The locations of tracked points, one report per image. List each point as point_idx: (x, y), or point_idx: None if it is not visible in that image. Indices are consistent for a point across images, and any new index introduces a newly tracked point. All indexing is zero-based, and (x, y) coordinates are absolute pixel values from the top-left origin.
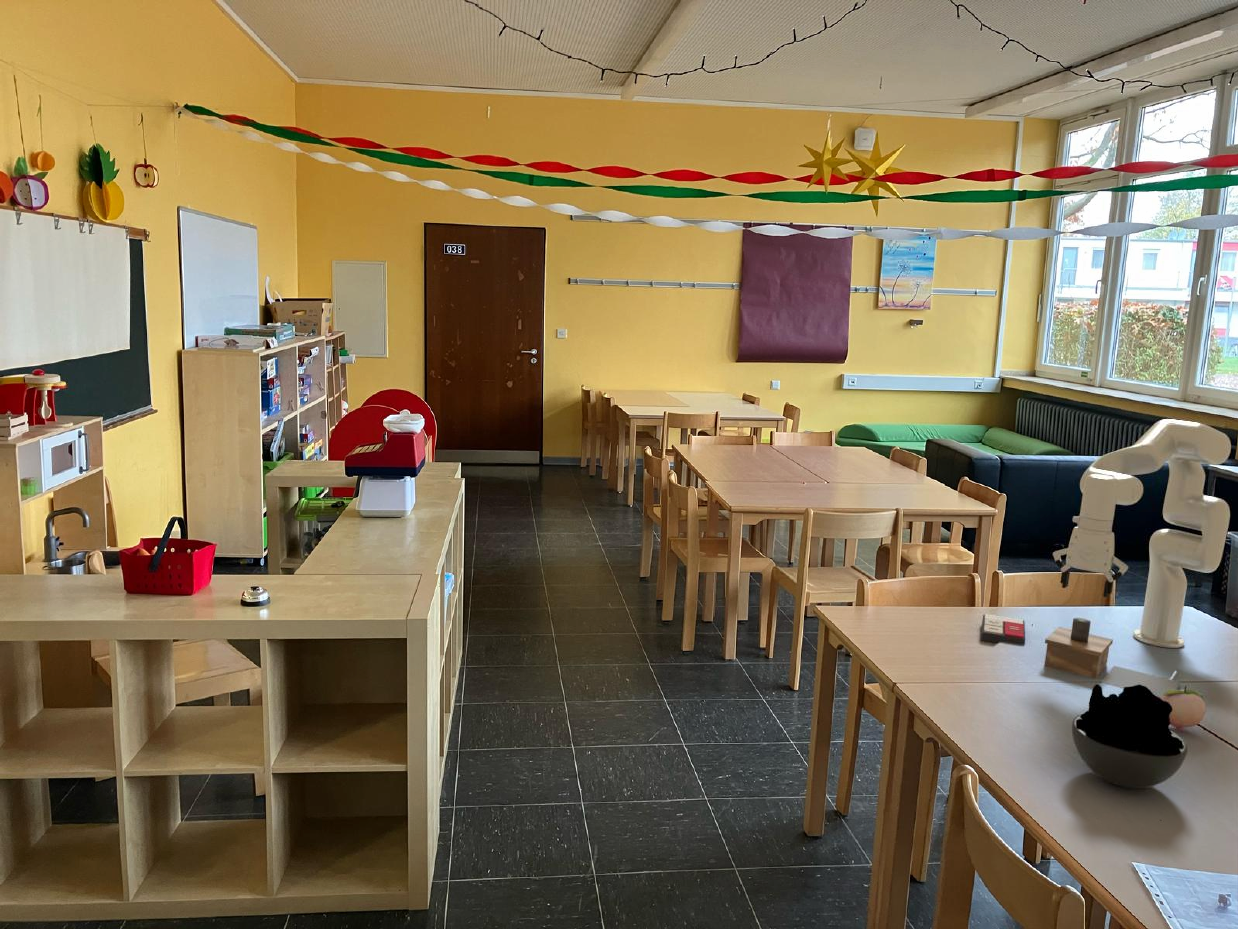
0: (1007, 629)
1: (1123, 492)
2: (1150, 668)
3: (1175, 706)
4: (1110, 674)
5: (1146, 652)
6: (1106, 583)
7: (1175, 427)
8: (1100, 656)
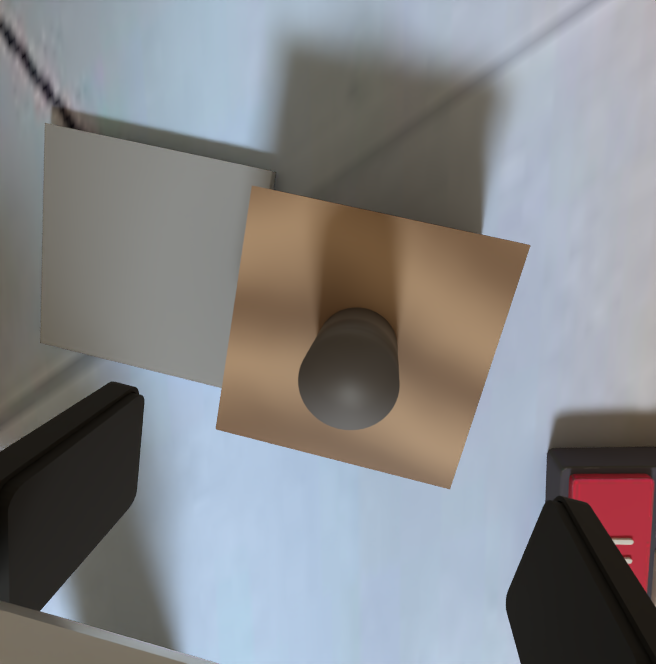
0: (640, 529)
1: None
2: (140, 459)
3: None
4: None
5: (162, 595)
6: (6, 466)
7: None
8: (257, 186)
